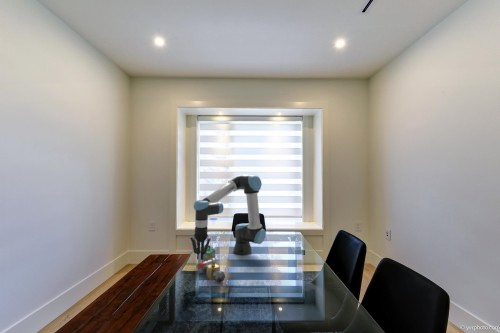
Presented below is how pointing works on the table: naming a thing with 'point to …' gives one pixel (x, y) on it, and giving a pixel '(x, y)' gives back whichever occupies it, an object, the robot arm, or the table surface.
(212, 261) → the lever
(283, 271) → the table surface
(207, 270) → the valve
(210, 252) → the chalk box
